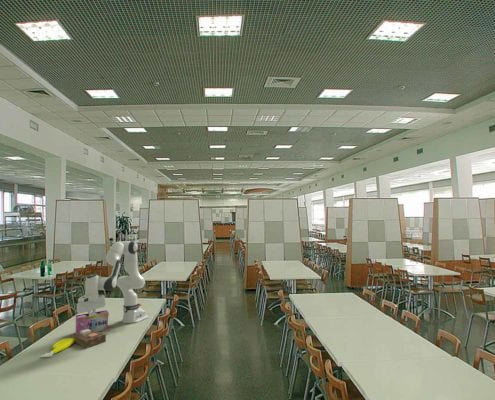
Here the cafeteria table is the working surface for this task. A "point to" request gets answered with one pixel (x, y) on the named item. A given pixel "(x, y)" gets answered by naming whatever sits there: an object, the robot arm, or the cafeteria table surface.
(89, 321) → the gum box
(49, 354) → the spray bottle
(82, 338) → the key panel
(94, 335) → the brick key
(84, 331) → the white key
